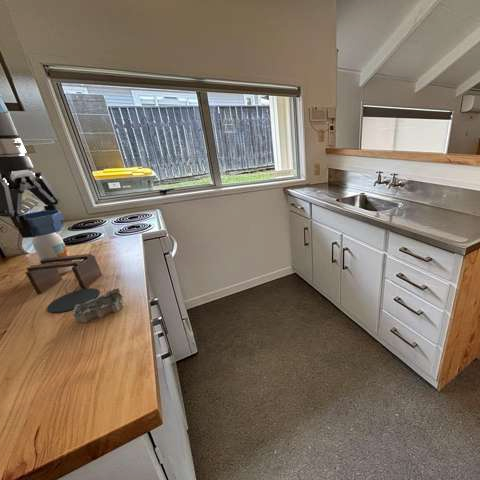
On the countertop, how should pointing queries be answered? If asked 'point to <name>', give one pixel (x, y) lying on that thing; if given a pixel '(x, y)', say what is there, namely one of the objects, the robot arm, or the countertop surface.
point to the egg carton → (99, 306)
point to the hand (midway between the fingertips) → (44, 230)
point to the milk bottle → (51, 248)
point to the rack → (49, 274)
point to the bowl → (45, 221)
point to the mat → (72, 300)
